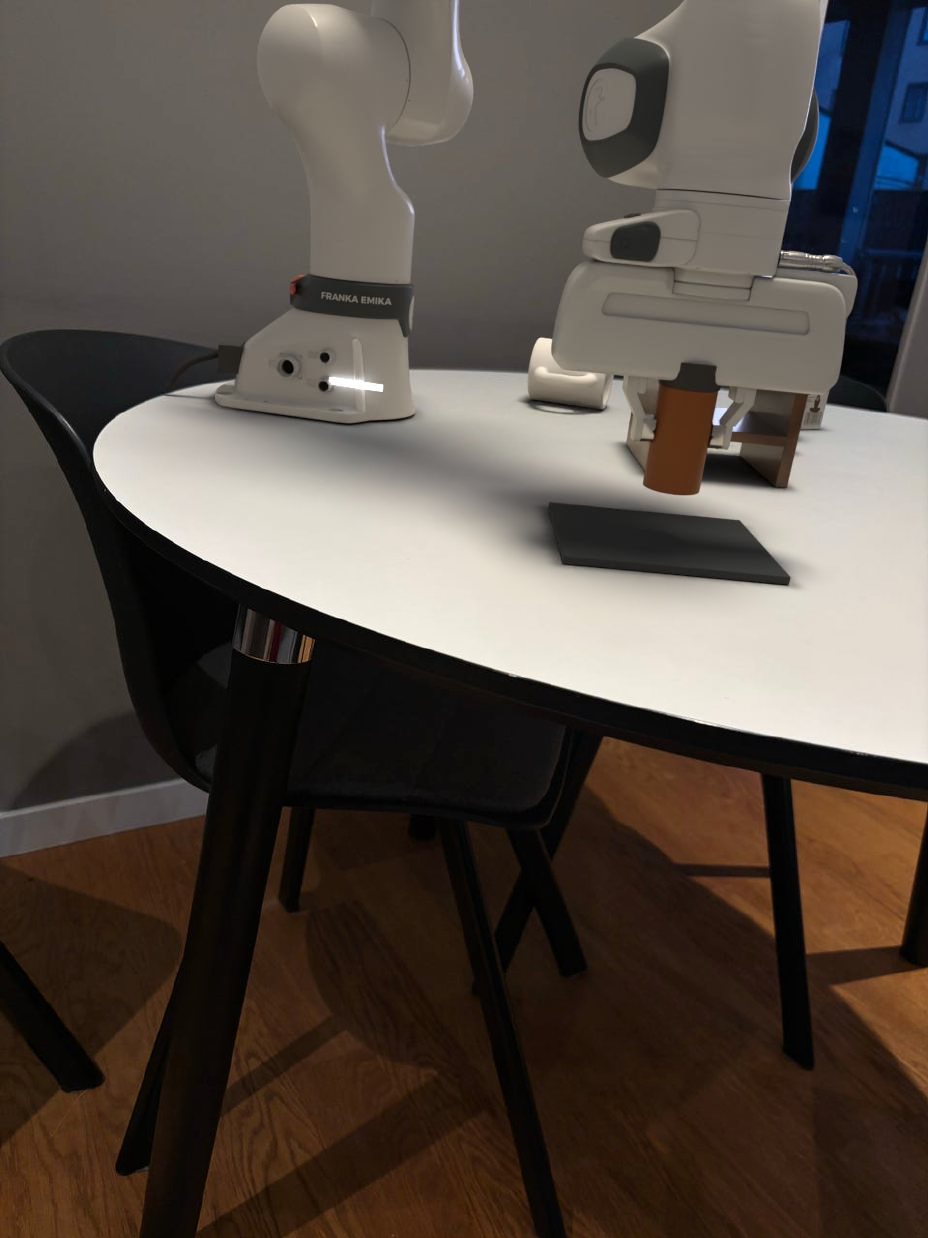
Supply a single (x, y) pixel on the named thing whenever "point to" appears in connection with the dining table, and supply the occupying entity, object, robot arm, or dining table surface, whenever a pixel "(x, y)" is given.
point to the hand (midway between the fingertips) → (678, 443)
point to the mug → (565, 381)
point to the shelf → (750, 431)
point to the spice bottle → (682, 430)
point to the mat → (662, 543)
